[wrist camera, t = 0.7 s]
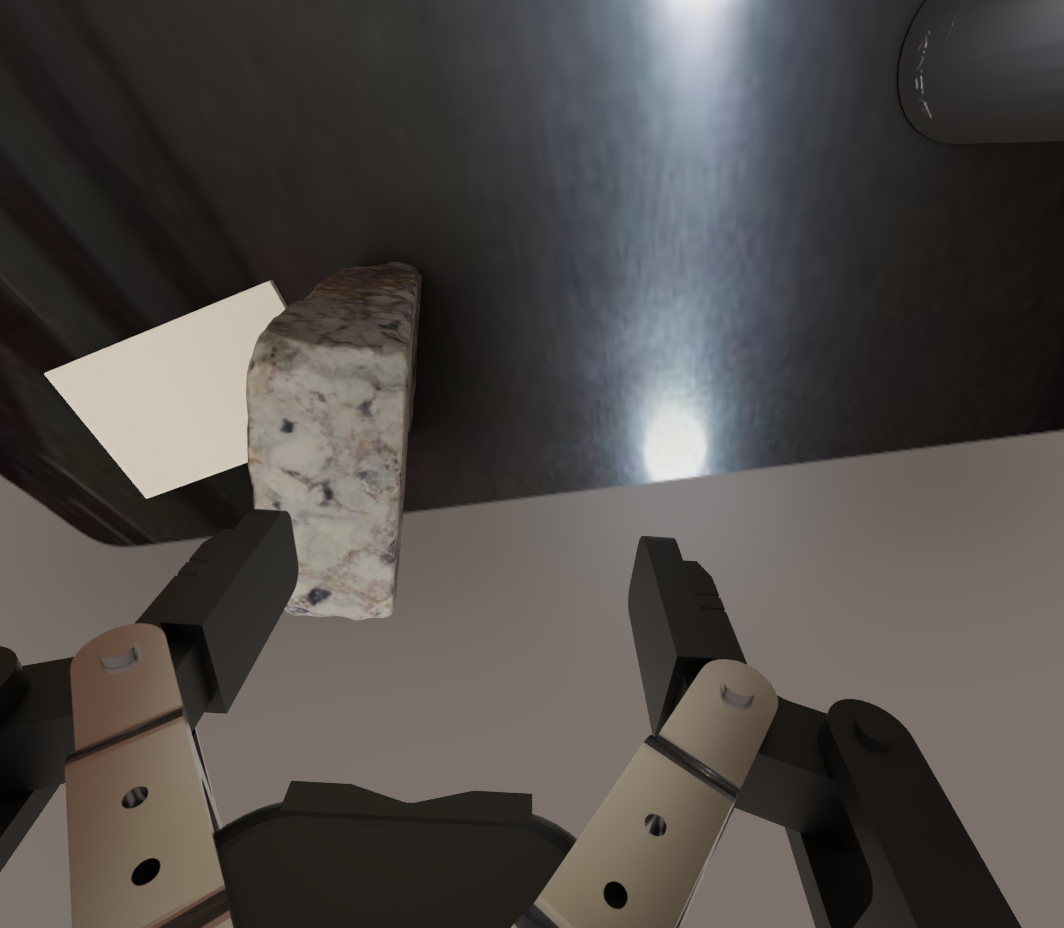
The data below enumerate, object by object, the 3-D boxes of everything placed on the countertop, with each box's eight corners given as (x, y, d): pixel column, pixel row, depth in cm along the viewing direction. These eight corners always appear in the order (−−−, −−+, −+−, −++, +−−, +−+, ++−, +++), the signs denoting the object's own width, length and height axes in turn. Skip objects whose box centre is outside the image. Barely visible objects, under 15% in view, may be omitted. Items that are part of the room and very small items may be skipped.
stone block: (432, 440, 43) (410, 631, 26) (337, 437, 42) (248, 633, 25) (432, 258, 37) (405, 347, 20) (322, 250, 36) (189, 335, 19)
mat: (272, 279, 38) (269, 280, 37) (353, 421, 43) (351, 424, 42) (48, 371, 40) (43, 373, 40) (150, 495, 45) (146, 498, 45)
